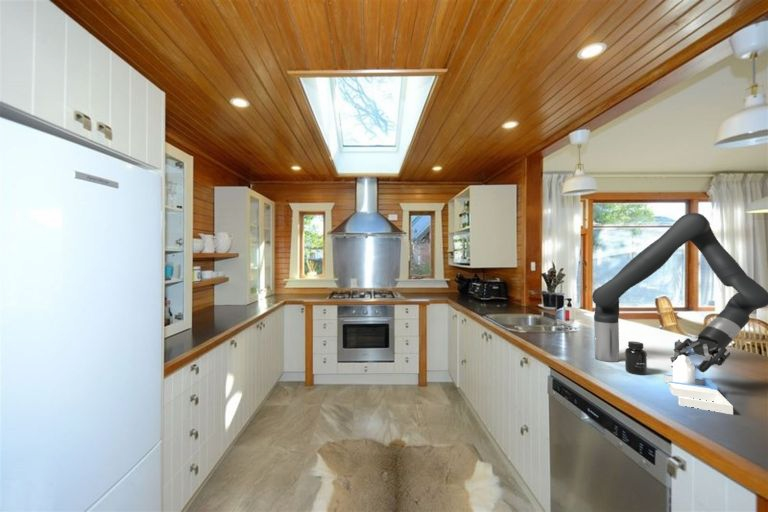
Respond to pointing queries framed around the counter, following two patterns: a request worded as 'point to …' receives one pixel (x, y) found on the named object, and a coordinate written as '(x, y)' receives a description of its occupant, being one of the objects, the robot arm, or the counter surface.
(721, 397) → the white rail frame
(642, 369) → the supplement bottle
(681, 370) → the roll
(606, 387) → the counter surface
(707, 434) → the counter surface
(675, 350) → the dark grey turned piece
